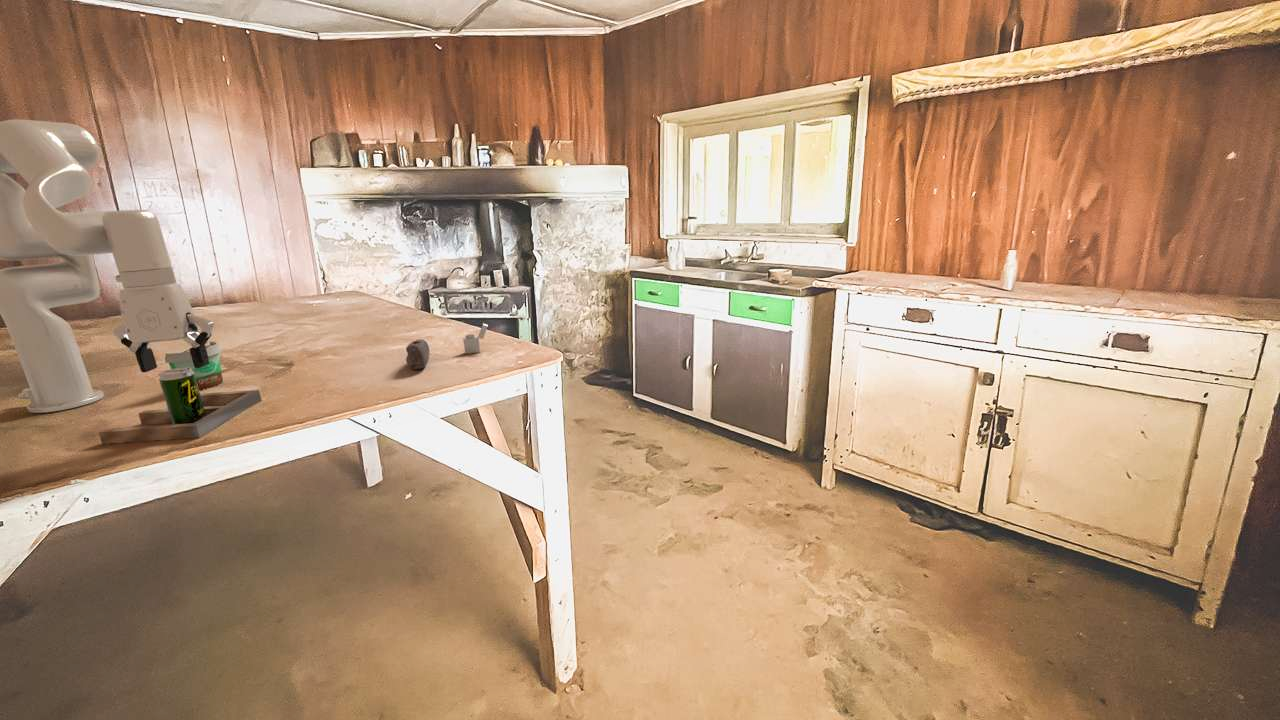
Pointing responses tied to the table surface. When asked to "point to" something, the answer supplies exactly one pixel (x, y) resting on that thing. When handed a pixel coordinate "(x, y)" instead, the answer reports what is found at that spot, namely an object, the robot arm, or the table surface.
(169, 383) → the beer can
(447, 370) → the table surface
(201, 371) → the food container
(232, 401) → the lane rack
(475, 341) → the lighter
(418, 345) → the perforated stone tool
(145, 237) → the robot arm
